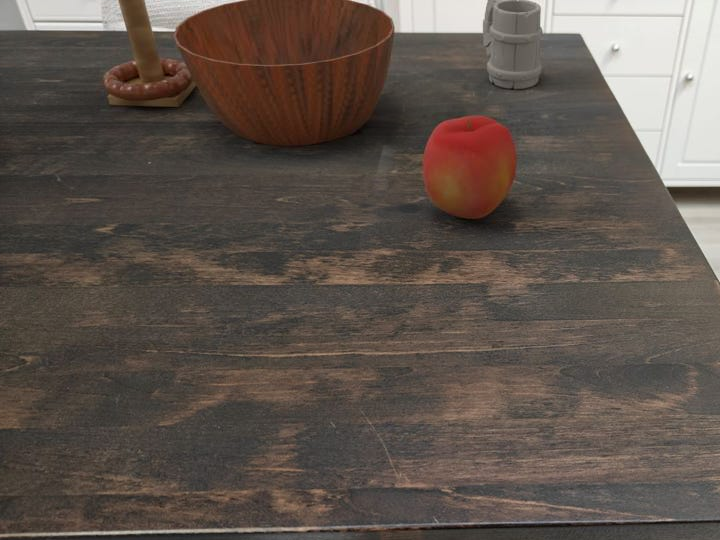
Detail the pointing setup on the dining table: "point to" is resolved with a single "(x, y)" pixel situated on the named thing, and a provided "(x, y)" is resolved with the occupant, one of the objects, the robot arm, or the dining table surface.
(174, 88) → the ring
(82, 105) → the dining table surface
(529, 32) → the mug
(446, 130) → the apple
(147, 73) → the post
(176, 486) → the dining table surface
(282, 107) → the bowl
